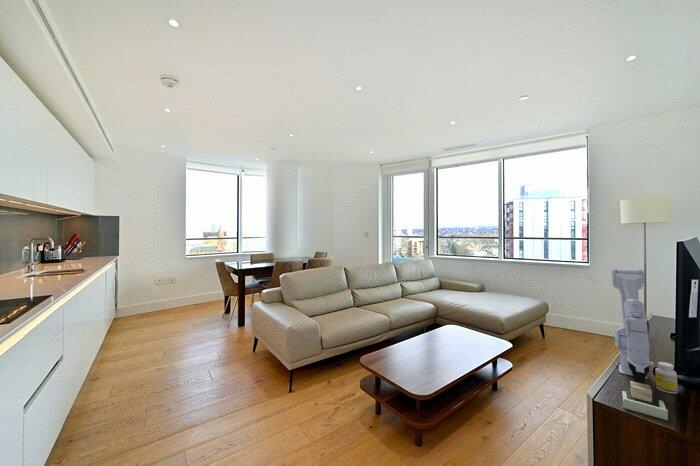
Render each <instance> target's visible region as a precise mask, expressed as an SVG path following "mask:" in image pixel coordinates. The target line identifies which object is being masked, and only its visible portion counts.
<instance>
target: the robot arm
mask: <svg viewBox="0 0 700 466" xmlns="http://www.w3.org/2000/svg"><path fill="white" fill-rule="evenodd" d="M645 277H646V275H645V271H644V270H643V269H642V268H639V269H638V268H637V269H635V268H633V269H632V268H616V267H613V268H612V269H611V280H612V282H611V283H612V285H613V287H614V288H615V289H618V291H619V293H620V298H621V299H620V300H621V302H620V303H621V314H622V317H621V318H622V326H621V327H619V328H618V329H615V331H614V332H615V335H614V343H615V344H614V345H615V348H617V349H618V350H619V357H620V358H619V359H620V361H619V363H620V364H618V368H619V374H623V375H627V376H631V377H633V382H637V383H641V384H645V380H648V376H647V375H648V374H649V373H650V366H652V367H653V366H655V364H654V362H653V361H650V354H649V353H650V343H649V335H650V333H651V323H650V320H649V317H648V316H647V314H646V310H645V305H644V303H643V302H642V301H640V300H639V299H640V298H639V290H642V289H643V287H644V284H645V281H646V278H645Z"/></svg>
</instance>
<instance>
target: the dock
mask: <svg viewBox="0 0 700 466" xmlns="http://www.w3.org/2000/svg"><path fill="white" fill-rule="evenodd" d="M621 392H622V393H621V396H622V403H623V404H622V405H623V408H624V409H627V410H631V411H634V412H637V413H641V414H644V415H648V416H652V417H654V418H659V419H662V420H666V421H668V420H669V414H668V413H669V411H668V409H667V408H666V405H665V403H664V401H663V400H658V406H656V405H651V404H648V403H646V402H645V403H644V402H640V401H636V400H634V399H629V398H628V396H627V391H624V390H622V391H621Z"/></svg>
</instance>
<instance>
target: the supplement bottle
mask: <svg viewBox="0 0 700 466" xmlns="http://www.w3.org/2000/svg"><path fill="white" fill-rule="evenodd" d="M654 370H655V372H654V374H655V388H656V389H658V390H659V391H660V392H661V391H662V392H664V393H668V394H672V395H673V394H675V395H676V394H678V390H679V388H678V387H679V386H678V375H677V372H676V371H675V370H674V365H673V364H672V363H670V362H666V361H665V362H664V361H658V362H657V367H656V368H655V369H654Z"/></svg>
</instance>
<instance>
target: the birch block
mask: <svg viewBox="0 0 700 466" xmlns="http://www.w3.org/2000/svg"><path fill="white" fill-rule="evenodd" d="M629 382H630V383H629V384H630V394H631V397H632V398H633V399H637V400H640V401H645V402H649V403H653V390H652V388H651V385H650V384H646V383H644V384H641V383H637V382H634V380H630V381H629Z"/></svg>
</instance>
